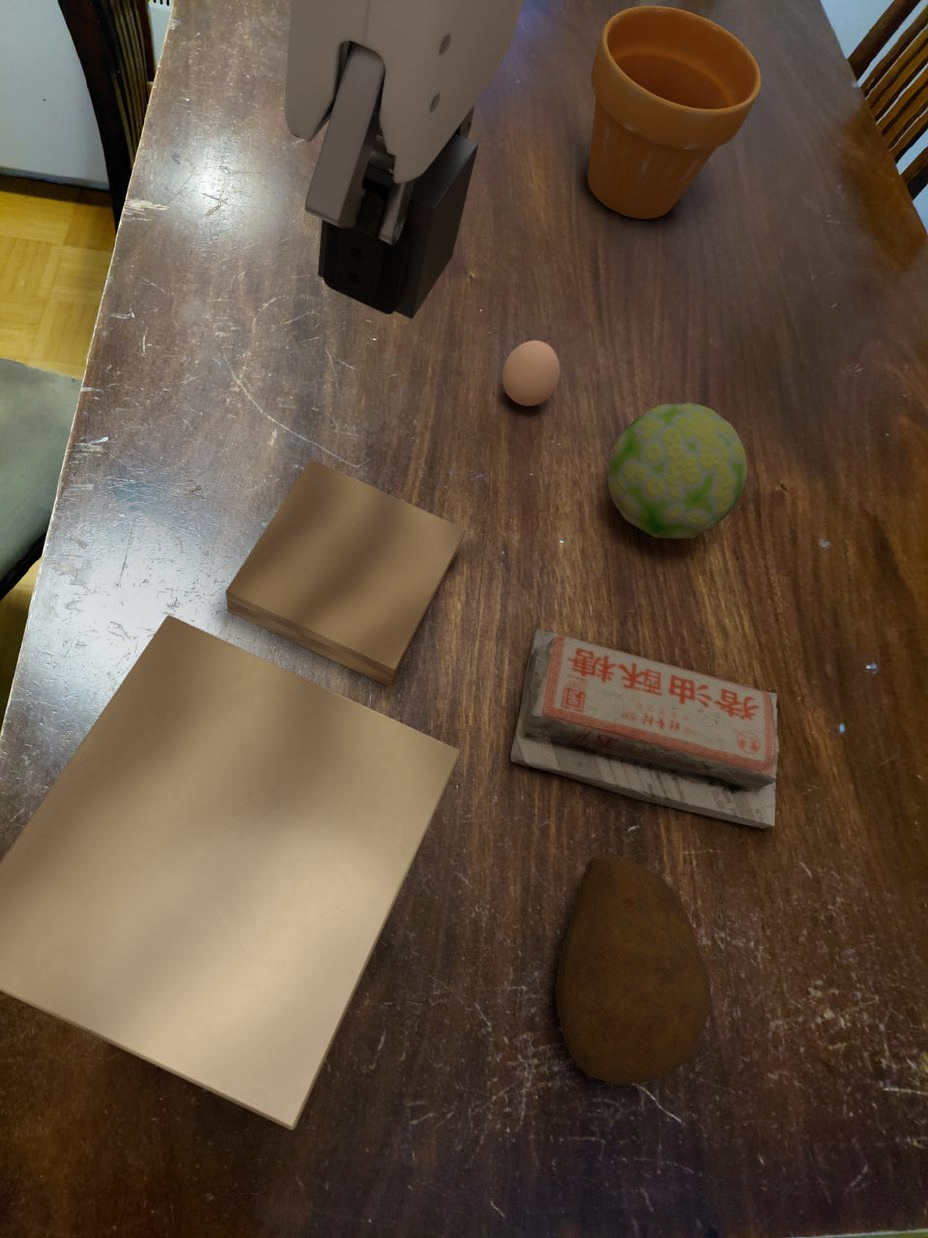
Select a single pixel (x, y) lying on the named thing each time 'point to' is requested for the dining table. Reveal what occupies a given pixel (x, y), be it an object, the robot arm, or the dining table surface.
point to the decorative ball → (677, 470)
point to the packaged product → (649, 730)
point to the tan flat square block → (345, 571)
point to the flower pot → (663, 105)
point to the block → (426, 217)
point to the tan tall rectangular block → (218, 868)
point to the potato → (630, 976)
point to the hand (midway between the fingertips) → (387, 255)
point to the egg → (531, 373)
